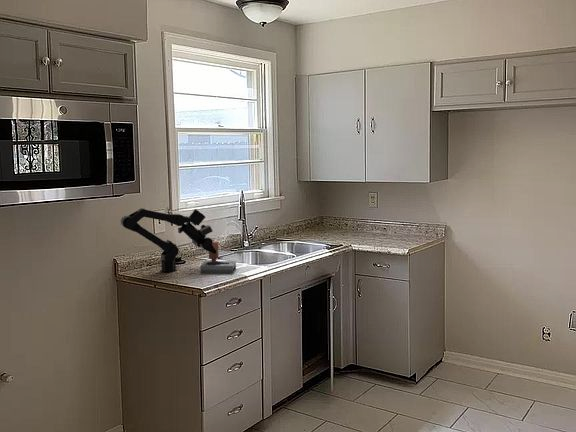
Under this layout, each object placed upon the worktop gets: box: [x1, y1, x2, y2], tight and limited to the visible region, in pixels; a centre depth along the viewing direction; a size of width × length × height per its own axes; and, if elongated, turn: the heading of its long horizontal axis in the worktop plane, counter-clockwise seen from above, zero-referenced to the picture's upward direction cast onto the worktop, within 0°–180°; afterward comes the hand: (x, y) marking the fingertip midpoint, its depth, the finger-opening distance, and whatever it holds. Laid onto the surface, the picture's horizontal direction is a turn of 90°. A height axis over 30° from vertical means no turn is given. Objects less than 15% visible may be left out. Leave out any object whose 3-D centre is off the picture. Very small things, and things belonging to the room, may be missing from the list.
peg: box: [208, 240, 220, 261], centre depth 316 cm, size 5×5×13 cm
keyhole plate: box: [199, 260, 237, 275], centre depth 305 cm, size 16×13×4 cm
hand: (213, 251), depth 316 cm, fingers open, 9 cm apart
